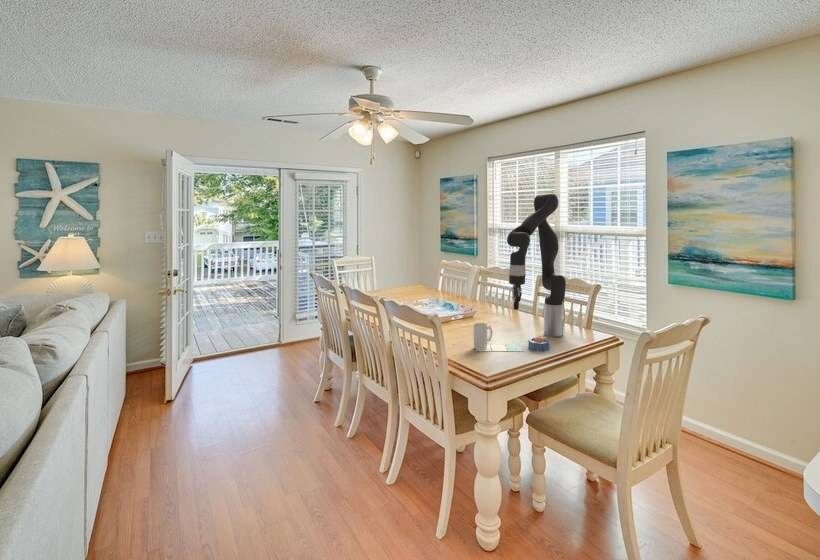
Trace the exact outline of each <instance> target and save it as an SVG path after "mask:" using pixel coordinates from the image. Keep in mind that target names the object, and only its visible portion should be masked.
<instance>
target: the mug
mask: <svg viewBox="0 0 820 560" xmlns="http://www.w3.org/2000/svg"><path fill="white" fill-rule="evenodd" d="M488 330H489V337H488ZM492 336H493V329H492V326H491V325H490V324H489V325H488V323H484V322H477V323H476V322H475V323H473V347H474V348H473V349H475V350H476V349H477V350H485V349H487V344H488V343H489V342H491V340H492Z"/></svg>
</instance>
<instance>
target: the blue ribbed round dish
mask: <svg viewBox="0 0 820 560" xmlns="http://www.w3.org/2000/svg"><path fill="white" fill-rule="evenodd" d="M536 337H537V336H535V337H529V338H528V345H527V346H528V349H529V350H531V351H534V352H546V351H549V350H550V339H548V338H546V337H542V338H543V339H544V341H545V342H543V343H539V342H534V341H533V340H534V339H535V338H536Z"/></svg>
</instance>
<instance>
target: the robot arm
mask: <svg viewBox="0 0 820 560" xmlns="http://www.w3.org/2000/svg"><path fill="white" fill-rule="evenodd" d="M558 207H559V197H558V196H557V194H555V193H545V194H543V193H542V194H538V195H536V196H535V197H534V199H533V208H534V212H533V213H531V214H530V215H528V216H527V217H526V218H525V219H524V220H523V221H522V223H520V225H518V226H517V227H516V228H514V229H512V231H510V232H509V233H508V235H507V238H506V242H507V245H509V246H510V247H512V248H518V250H516V251H512V252H511V253H510V262H509V270H508V284H510V285H512V287H511V293H512V294H511V296H512V301H513V309H514V310H515V311H517V310H519V308H520V307H519V306H520V304H519V303H520V302H521V300H522V295H523V293H522V290H523V289H522V287H521V285H525V284H526V271H527V270H526V257H527V253H528V249H529V246H530V243H531V237H530V236H532V235H533V233H534V232H535V231H536V230H537V231H538V239H539V240H538V241H539V250H540V260H541V283H542V286H543V288H544V289H545V290H548V291H550V294H549V296H546V297H545V299H544V312H543V313H544V318H543V320H544V321H543V334H544V336H547V337H552V338H553V337H554V338H557V337H558V338H559V337H562V336H563V335H564V325H565V324H564V321H565V318H564V316H563V313H564V312H563V311H564V310H563V309H564V308H563V307H564V300H565V297H566V287H567V285H566V284H567V283H566V278H565V276H564V275H562V274H558V273H555V260H556V259H557V255H558V253H559V239H558V235H557V233H556V232H555V230H554V229H553V227H552V226H551V225H550V223H549V221H548V220H547V219H548V218H549V216H551V215H552V214H553V213H554V212H556V210H557V209H558Z"/></svg>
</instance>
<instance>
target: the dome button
mask: <svg viewBox="0 0 820 560" xmlns="http://www.w3.org/2000/svg"><path fill="white" fill-rule="evenodd" d="M535 337H536V338H535V339H534V340H533V341H534V342H539V343H543V342H545V341H544V339H543V338H544V337H541V336H535Z"/></svg>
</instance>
